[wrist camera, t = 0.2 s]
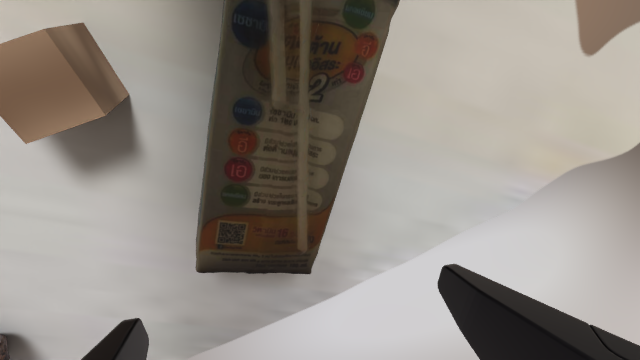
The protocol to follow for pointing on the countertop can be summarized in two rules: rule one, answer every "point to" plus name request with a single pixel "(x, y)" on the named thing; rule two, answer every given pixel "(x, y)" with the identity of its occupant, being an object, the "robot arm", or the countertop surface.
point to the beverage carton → (283, 127)
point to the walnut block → (55, 82)
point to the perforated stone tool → (3, 348)
